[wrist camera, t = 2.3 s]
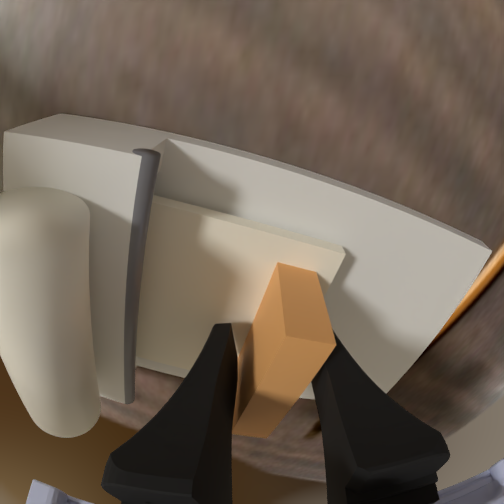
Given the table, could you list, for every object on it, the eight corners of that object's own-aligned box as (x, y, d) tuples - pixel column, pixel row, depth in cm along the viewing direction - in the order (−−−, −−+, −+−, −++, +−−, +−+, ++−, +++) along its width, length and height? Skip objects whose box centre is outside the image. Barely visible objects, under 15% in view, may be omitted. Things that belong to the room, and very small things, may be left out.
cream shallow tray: (341, 245, 11) (376, 323, 8) (272, 376, 15) (275, 448, 12) (39, 168, 10) (-33, 214, 6) (50, 317, 14) (14, 377, 10)
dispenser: (481, 241, 13) (566, 336, 7) (373, 391, 19) (397, 485, 12) (60, 113, 10) (-81, 170, 4) (63, 327, 16) (13, 425, 10)
